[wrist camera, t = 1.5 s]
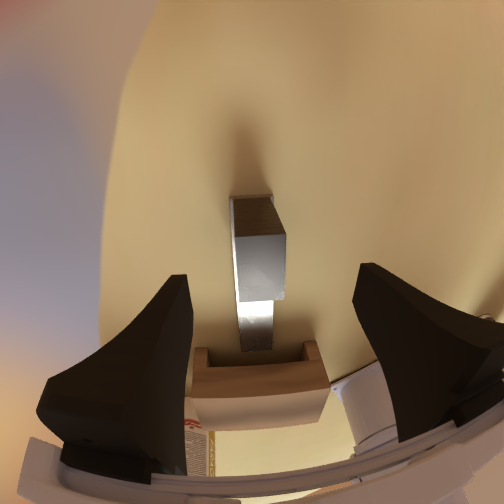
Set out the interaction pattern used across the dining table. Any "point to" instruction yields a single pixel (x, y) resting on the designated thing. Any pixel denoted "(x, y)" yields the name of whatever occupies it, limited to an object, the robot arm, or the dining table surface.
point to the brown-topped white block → (257, 267)
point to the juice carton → (198, 444)
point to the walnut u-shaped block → (259, 392)
